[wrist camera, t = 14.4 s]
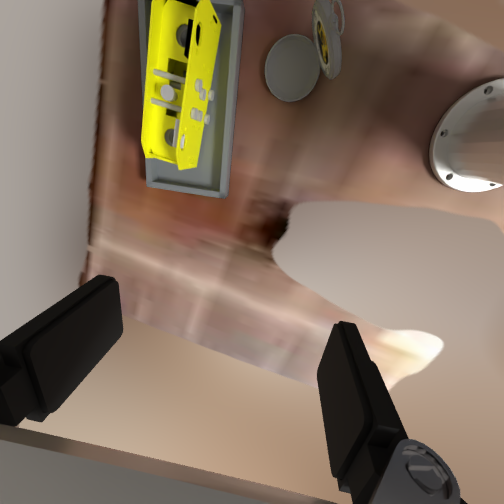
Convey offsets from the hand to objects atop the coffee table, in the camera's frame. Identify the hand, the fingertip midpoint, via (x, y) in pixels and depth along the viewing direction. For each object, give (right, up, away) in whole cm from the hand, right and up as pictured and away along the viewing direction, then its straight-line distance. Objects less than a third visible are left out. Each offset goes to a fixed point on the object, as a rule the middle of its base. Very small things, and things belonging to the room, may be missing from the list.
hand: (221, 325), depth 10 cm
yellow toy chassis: (-7, +23, +21) cm, 32 cm away
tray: (-7, +23, +22) cm, 32 cm away
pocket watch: (+7, +26, +19) cm, 33 cm away
